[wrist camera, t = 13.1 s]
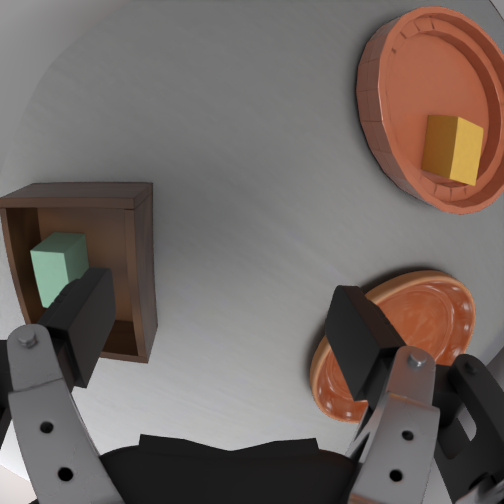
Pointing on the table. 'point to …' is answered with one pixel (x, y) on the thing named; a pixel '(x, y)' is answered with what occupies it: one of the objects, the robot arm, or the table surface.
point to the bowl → (433, 101)
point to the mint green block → (58, 263)
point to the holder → (90, 250)
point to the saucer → (402, 333)
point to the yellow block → (452, 148)
